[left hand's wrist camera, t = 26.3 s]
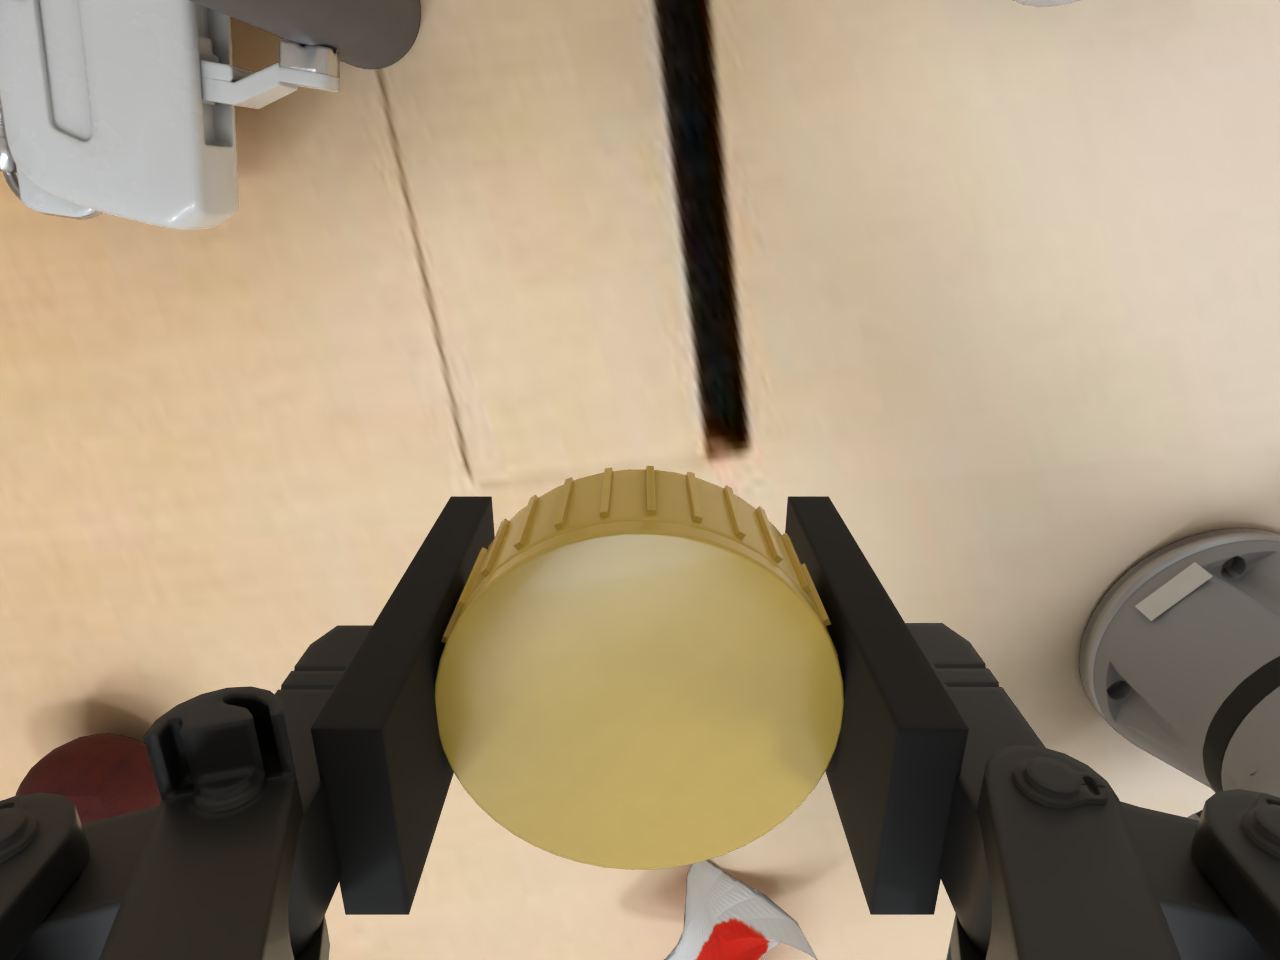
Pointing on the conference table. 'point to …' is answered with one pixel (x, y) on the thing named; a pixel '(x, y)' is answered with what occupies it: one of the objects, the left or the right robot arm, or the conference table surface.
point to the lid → (639, 673)
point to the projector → (1044, 2)
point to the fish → (731, 920)
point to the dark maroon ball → (97, 776)
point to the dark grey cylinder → (335, 25)
